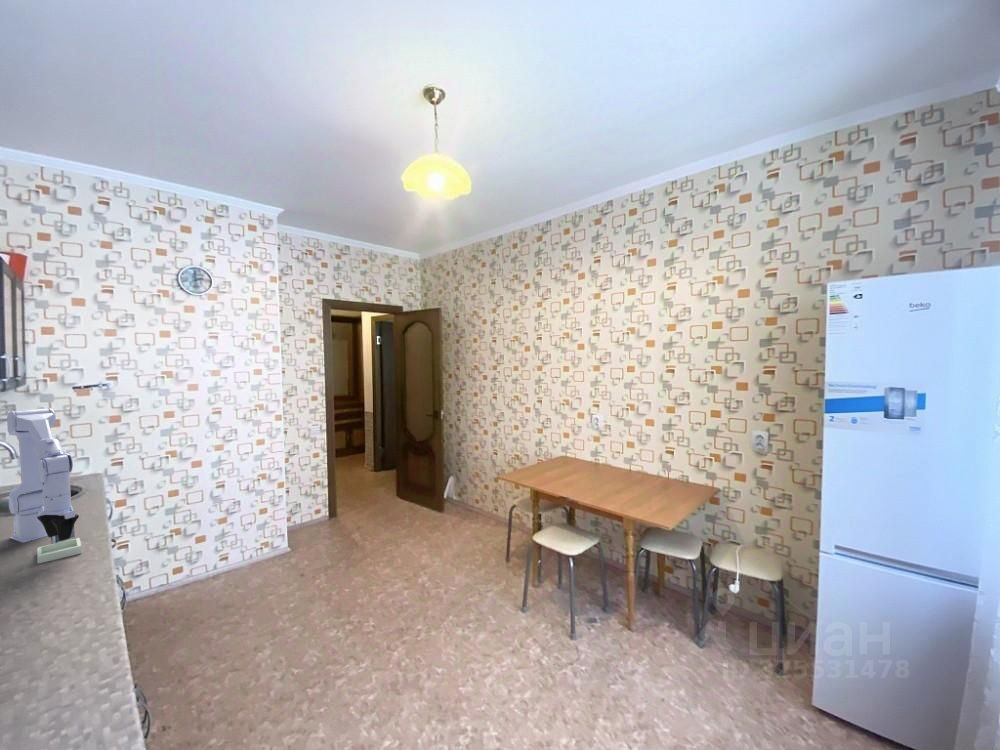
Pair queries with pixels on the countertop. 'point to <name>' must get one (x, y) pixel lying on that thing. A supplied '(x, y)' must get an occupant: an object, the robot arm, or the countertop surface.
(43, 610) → the countertop surface
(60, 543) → the tray
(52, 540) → the pill bottle
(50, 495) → the robot arm
